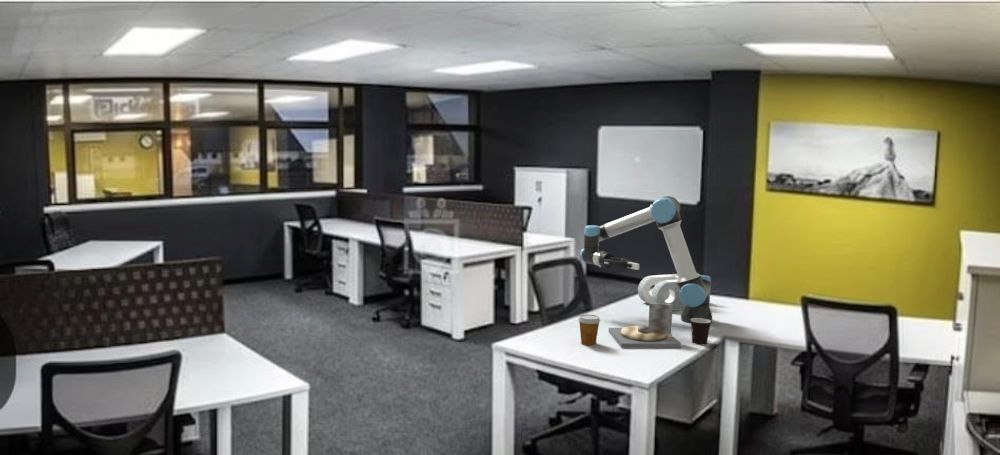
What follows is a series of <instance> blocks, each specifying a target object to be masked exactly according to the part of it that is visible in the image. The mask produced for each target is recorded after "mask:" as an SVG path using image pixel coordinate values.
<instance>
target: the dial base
mask: <svg viewBox="0 0 1000 455" xmlns="http://www.w3.org/2000/svg"><path fill="white" fill-rule="evenodd" d="M622 328H623V327H608V333H609V335H610V336H611V337H612V338H613V339H614V341H615V342H616V343H617V345H618V346H619V347H620V348H621V349H678V348H679V349H681V348H682V342H680V341H679V340H678V339H676V338H677V337H675V336H673V335H672V333H671V334H668V333H667V334H666V338H665V339H662V340H657V341H641V340H634V339H630V338H626V337H624V336H622V335H621V329H622Z"/></svg>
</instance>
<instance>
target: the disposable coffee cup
mask: <svg viewBox="0 0 1000 455" xmlns="http://www.w3.org/2000/svg"><path fill="white" fill-rule="evenodd" d="M600 323H601V319H600V316H599V315H597V314H589V313H585V314H581V315H579V317H578V324H579V332H580V334H579V335H580V343H581V344H582V345H584V346H595V345H596V344H597V338H598V331H599V325H600Z"/></svg>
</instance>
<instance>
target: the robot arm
mask: <svg viewBox="0 0 1000 455" xmlns="http://www.w3.org/2000/svg"><path fill="white" fill-rule="evenodd" d="M680 212H681V205H680V202H679V201H678V200H677V199H676V198H675V197H674V196H669V195H666V196H662V197H659V198H657V199H656V200H654V201H653V203H651V204H650V206H649V207H646V208H642V209H640V210H638V211H635V212H633V213H630V214H628V215H625V216H623V217H620V218H618V219H615V220H612V221H609V222H607V223H604V224H602V225H594V224H591V225H590V224H589V225H585V227H584V232H583V233H584V234H583V235H584V237H583V240H584V242H583V243H584V244H583V248H582V249H581V250H580V251H579V255H578V256H579V260H580V261H581V262H583V263H585V264H589V265H593V266H598V268H601V267H602V268H607V269H609V268H612V267H616V268H624V270H626V269H631V270H636V271H638V270H639V271H640V263H637V262H633V260H631V259H627V258H624V257H622V258H619V257H616V256H614V254H613V253H611V252H607V251H603V250H599V249H600V242H602V241H605V240H607V239H610V238H612V237H616V236H618V235H621V234H623V233H627V232H629V231H632V230H634V229H638V228H639V227H642V226H645V225H648V224H651V223H653V222H655V224H656V226H657V228H658V230H659V231H660V230H661V231H662V233H663V236H664V239H665V242H666V245H667V248H668V251H669V253H670V257H671V260H672V263H673V265H674V268H675V271H676V274H678V277H679V278H678V280H677V284H678V287H679V290H680V292H679V293H680V294H679V295H680V299H681V301H682V302H683V303H684V304H685V306H684V309H682V312H681V314H680V320H681V321H682V322H685V323H689V324H691V319H693V318H703V319H708V320H710V321H711V323H712V322H713V315H712V311H711V307H710V304H711V303H710V302H711V301H710V300H711V284H712V279H711V278H712V277H711V276H709V275H704V274H703V275H701V273H698V272H697V271H696V268H695V265H694V263H693V260H692V257H691V254H690V251H689V248H688V245H687V242H686V239H685V237H684V234H683V231H682V228H681V223H682V218H681V215H680ZM711 323H710V324H711Z"/></svg>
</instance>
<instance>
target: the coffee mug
mask: <svg viewBox="0 0 1000 455" xmlns="http://www.w3.org/2000/svg"><path fill="white" fill-rule="evenodd" d="M710 328H711V321H710V320H708V319H703V318H693V319H691V323H690V331H691V342H692V344H694V343H695V344H694V345H702V346H703V344H704V345H707V343H708V339H709V334H710Z"/></svg>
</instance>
